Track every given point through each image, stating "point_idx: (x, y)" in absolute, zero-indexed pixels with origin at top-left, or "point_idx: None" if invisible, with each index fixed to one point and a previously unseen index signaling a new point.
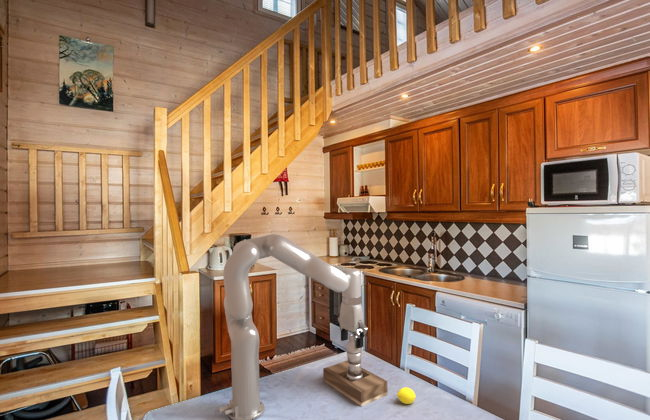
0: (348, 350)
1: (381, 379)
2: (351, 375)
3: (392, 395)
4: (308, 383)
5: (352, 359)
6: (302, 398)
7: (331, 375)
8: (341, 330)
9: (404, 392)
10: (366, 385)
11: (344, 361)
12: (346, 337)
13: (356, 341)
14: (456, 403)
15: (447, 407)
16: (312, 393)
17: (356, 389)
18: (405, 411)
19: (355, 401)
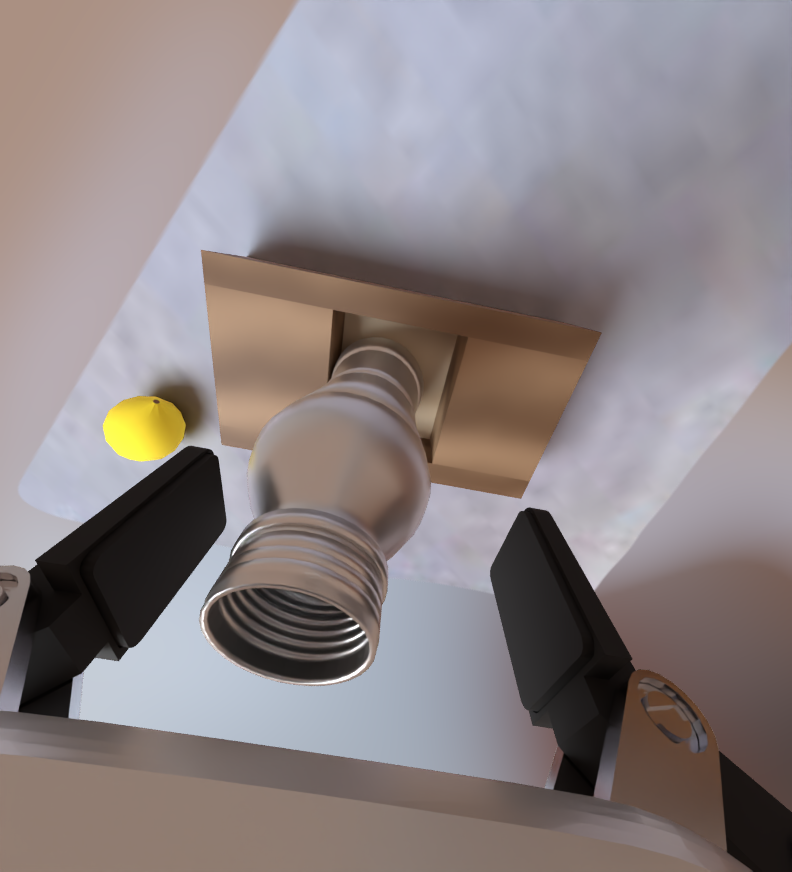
0: (337, 400)
1: (251, 441)
2: (361, 352)
3: None
4: (632, 233)
5: (324, 386)
6: (563, 24)
7: (505, 312)
8: (628, 677)
9: (113, 418)
10: (245, 339)
11: (529, 478)
12: (503, 583)
13: (131, 507)
14: (91, 506)
15: (81, 473)
16: (540, 149)
17: (248, 260)
18: (118, 362)
19: (291, 266)
